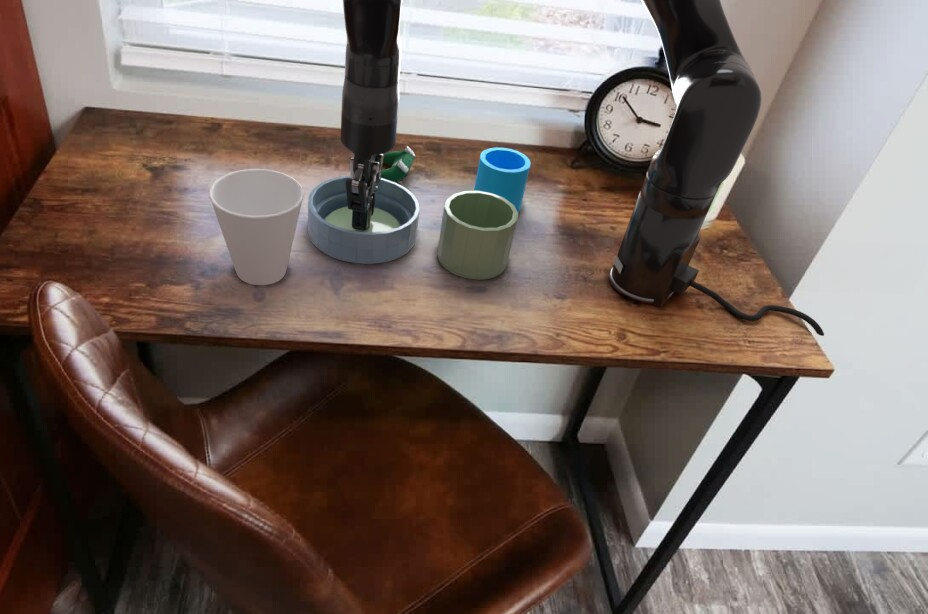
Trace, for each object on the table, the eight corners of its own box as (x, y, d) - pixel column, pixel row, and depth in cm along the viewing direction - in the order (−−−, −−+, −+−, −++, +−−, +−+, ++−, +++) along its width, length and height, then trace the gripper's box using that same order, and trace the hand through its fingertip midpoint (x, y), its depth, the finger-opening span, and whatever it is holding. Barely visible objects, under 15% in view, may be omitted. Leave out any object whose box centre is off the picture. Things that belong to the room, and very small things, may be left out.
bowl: (437, 238, 108) (441, 207, 104) (363, 280, 98) (365, 248, 94) (361, 195, 115) (362, 164, 111) (285, 231, 105) (284, 199, 101)
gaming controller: (382, 197, 118) (409, 179, 115) (368, 179, 117) (395, 161, 114) (394, 171, 125) (420, 154, 122) (381, 155, 124) (407, 137, 120)
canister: (509, 246, 108) (520, 198, 103) (503, 285, 100) (514, 236, 95) (443, 233, 109) (450, 185, 103) (432, 271, 101) (439, 221, 96)
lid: (406, 219, 110) (410, 184, 106) (390, 260, 101) (394, 224, 97) (335, 205, 111) (336, 171, 106) (314, 245, 102) (314, 209, 98)
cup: (210, 251, 99) (201, 172, 91) (293, 241, 103) (292, 164, 95) (224, 303, 91) (216, 221, 83) (314, 290, 95) (314, 211, 87)
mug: (523, 219, 114) (533, 174, 109) (473, 215, 114) (481, 169, 108) (515, 182, 123) (524, 139, 118) (469, 178, 123) (476, 134, 117)
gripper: (385, 138, 88) (376, 252, 99) (407, 95, 98) (397, 202, 110) (327, 128, 88) (325, 242, 100) (355, 85, 99) (350, 193, 110)
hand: (362, 220), depth 105 cm, fingers open, 3 cm apart
